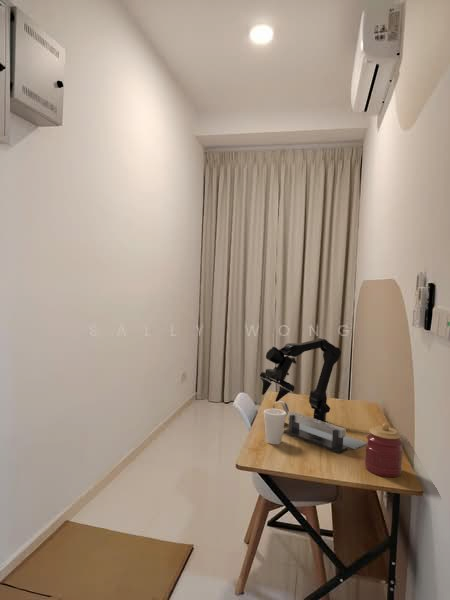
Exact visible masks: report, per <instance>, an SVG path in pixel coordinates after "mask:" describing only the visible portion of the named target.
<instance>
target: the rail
mask: <svg viewBox="0 0 450 600" xmlns="http://www.w3.org/2000/svg"><path fill="white" fill-rule="evenodd" d="M290 415H292V416H294V418H293V421H294V422H297V423H300V424H299V425H302V424H303V425H305V426H308V427H311V428H314V429H317V430H320V431H323V432H326V433H328V434H331V435H333V430H336V431H338V432H337V437H340V438H342V437H345V436H347V435H346V432H347V430H346V428H345V427H342V426H339V425H335V424H332V423H329V422H328V423H327V422H323V421H320V420H317V419H314V418H313V417H311V416H308V415H305V414H302V413H300V412H299V413H298V412H295V411H289V412H288V414H287V416H288V417H287V419H288V421H289V416H290Z"/></svg>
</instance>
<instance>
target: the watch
mask: <svg viewBox="0 0 450 600" xmlns="http://www.w3.org/2000/svg"><path fill="white" fill-rule="evenodd" d="M277 404H281V405H282V408H283V411H285V412H286V417H287V416H288V413H289V412H290V409H289V407H288V404H287V403H286V402H284V400H283V401H282V400H279V401H277V402H276V401H275V402H274V404H273V405H272V409H276V408H275V405H277ZM285 423H286V421H285V422H284V424H285Z"/></svg>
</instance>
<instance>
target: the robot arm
mask: <svg viewBox="0 0 450 600" xmlns="http://www.w3.org/2000/svg"><path fill="white" fill-rule="evenodd" d="M316 349H320V351H322V353H323V354H322V358H323V364H322V368H321V371H320V375H319V378H318V382H317V385H316V388H315V389H314V390H313V391H312V390H310V393H309V397H308V399H309V400H308V403H309V404H310V407H311V409H313V415H312V416H313V417H312V418H314V419H317V420H320V421H323V422H327V423H329V421H327V413H330V411H331V407H330V406H329V404H328V403H327V401H328V396H327V390H328V386H329V382H330V379H331V375H332V372H333V368H334V366H335V364H336V363H337V362H338V361H339V359H340V358H341V355H342V351H341V349H340V348H339V347H337V346H335V345H334V344H332V343H330V342H329V341H328V340H327V339H325V338H322V337H321V338H318V339H314V340H308V341H304V342H300V343H299V342H298V343H295V342H294V343H293V342H292V343H290V342H289V343H286V344H285V345H284V346H283V347H281V348H280V349H279V348H277V346H276V347H275V346H272V348H270V349H269V350H268V351H266V355H265V359H266V360H267V361H269V362H271V363H273V364H275V365H277V366H274V367H273V369H271V368H265V371H262V372H261V373H260V375H259V377H260V379H261V381H262V388H261V389H262V392H261V395H263V396H264V395H265V394H266V393H267V391H269V388H271V385H272V382H273V383H275V384H276V385H280V386H279V388H278V389H279V391H278V392H277V393H278V394H277V395H276V398H275V403H276V402H278V401H281V399H282V398H284V397H285V396H286V395H288V394H290V393H294V391H295V389H296V388H295V385H293V384H291V383H290V382H287V381H286V377H287V376H289V375H290V373H289V371H290V369H291V366H292V364H295V365H296V364H297V361H296V357H298V356H301V355H303V353H305V352H308V351H312V350H316Z"/></svg>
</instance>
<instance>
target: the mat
mask: <svg viewBox="0 0 450 600" xmlns="http://www.w3.org/2000/svg"><path fill="white" fill-rule="evenodd" d="M299 429H300V430H302V431H305V432H308V433H311V434H313V435H316V436H319V437H322V438H324V439H327V440H330V441H332V437H333V435H331V434H328V433H326V432H323V431H320V430H317V429H314V428H311V427H308V426H305V425H303V424H299ZM366 443H367V442H365V441H361V440H360V439H359V440H358V439H356V438H353V437H350V436H348V435H345V437H343V445H344V446H347V447H348V449H350V450H352V449H353V450H354V451H355V450H357V449H360V448H361V447H364V446H366ZM359 447H360V448H359Z"/></svg>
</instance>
